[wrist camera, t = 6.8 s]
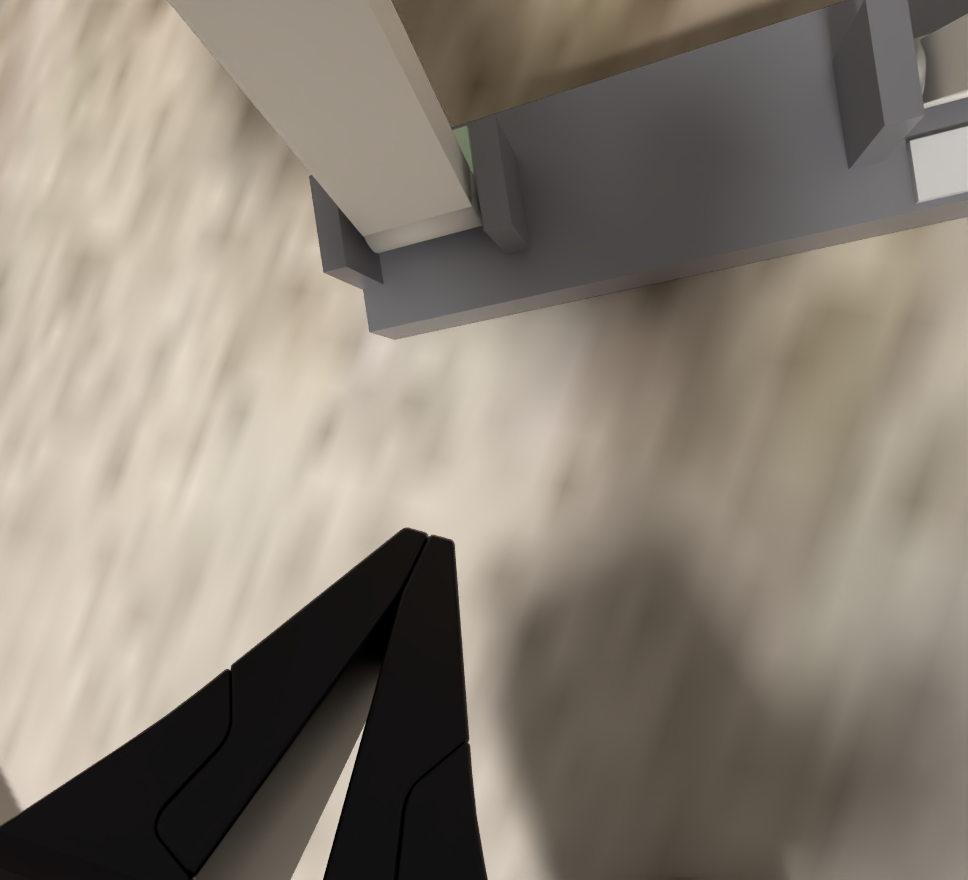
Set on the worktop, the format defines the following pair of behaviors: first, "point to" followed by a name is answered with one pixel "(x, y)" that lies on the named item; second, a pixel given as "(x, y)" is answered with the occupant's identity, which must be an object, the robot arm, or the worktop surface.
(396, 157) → the block
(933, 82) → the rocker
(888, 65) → the switch base
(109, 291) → the worktop surface
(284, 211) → the worktop surface
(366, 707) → the robot arm
